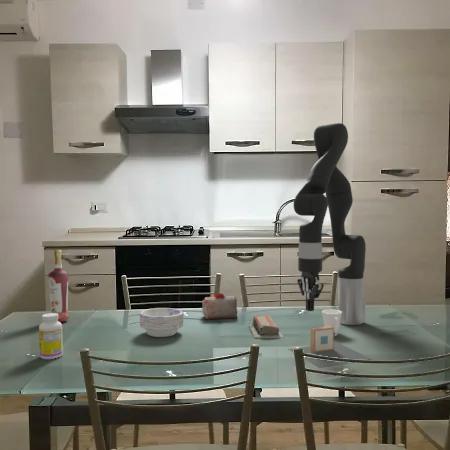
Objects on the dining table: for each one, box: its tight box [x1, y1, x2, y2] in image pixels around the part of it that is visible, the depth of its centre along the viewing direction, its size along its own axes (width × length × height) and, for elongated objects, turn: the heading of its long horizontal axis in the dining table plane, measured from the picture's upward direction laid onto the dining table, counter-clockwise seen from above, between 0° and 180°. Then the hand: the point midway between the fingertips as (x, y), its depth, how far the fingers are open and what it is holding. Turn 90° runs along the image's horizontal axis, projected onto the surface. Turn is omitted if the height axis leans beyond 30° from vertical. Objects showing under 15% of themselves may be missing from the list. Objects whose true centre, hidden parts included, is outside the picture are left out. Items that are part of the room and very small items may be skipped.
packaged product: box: [248, 314, 284, 340], centre depth 175 cm, size 18×5×10 cm
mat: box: [288, 342, 374, 369], centre depth 149 cm, size 18×18×1 cm
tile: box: [310, 326, 335, 352], centre depth 152 cm, size 7×2×7 cm, turn 111°
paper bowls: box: [139, 307, 184, 338], centre depth 174 cm, size 15×15×8 cm
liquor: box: [48, 249, 70, 324], centre depth 192 cm, size 7×7×28 cm
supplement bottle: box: [38, 312, 64, 360], centre depth 150 cm, size 7×7×13 cm
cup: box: [321, 308, 342, 337], centre depth 170 cm, size 7×10×8 cm
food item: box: [201, 292, 238, 320], centre depth 198 cm, size 14×8×10 cm, turn 97°
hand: (309, 310), depth 158 cm, fingers closed
